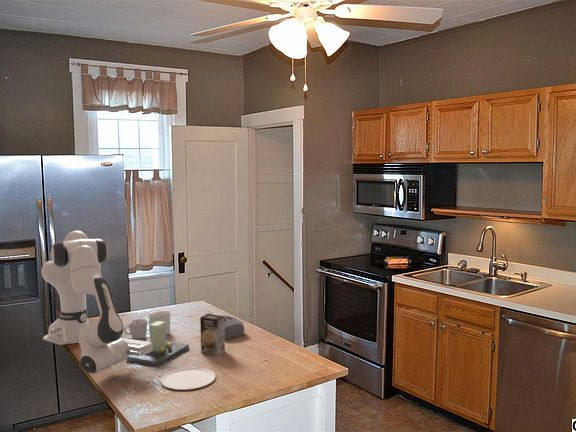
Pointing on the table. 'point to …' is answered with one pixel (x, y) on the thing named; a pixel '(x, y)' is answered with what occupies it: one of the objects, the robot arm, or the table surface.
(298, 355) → the table surface
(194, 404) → the table surface
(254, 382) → the table surface
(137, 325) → the cup
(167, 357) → the chassis
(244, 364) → the table surface
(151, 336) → the block
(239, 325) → the soft grey pack
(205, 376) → the plate
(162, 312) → the photo printer
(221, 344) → the coffee box
